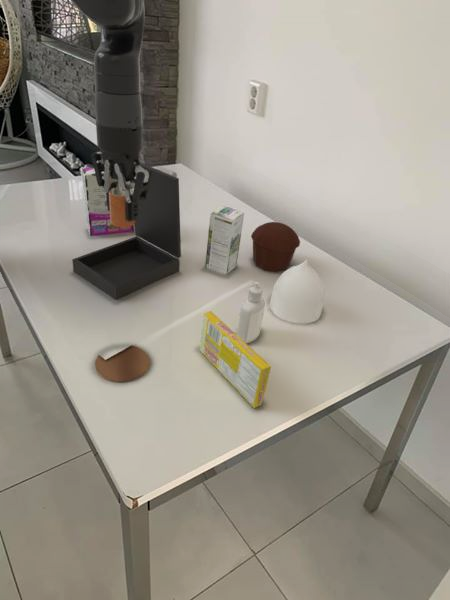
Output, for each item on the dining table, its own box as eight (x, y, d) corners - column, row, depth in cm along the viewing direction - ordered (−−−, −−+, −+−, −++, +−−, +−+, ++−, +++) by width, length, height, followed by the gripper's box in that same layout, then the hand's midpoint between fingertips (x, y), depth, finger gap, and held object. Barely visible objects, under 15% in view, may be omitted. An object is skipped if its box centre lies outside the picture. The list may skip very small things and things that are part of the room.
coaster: (118, 390, 71) (118, 389, 71) (84, 362, 76) (83, 360, 76) (160, 364, 77) (160, 362, 77) (126, 339, 82) (126, 337, 82)
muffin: (240, 265, 108) (245, 227, 103) (257, 247, 117) (263, 211, 111) (286, 280, 105) (294, 241, 99) (301, 260, 113) (309, 224, 108)
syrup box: (215, 260, 109) (220, 204, 101) (237, 267, 107) (244, 210, 99) (204, 270, 105) (209, 212, 97) (227, 278, 103) (233, 219, 95)
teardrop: (321, 328, 91) (335, 277, 84) (266, 318, 92) (276, 267, 85) (321, 298, 100) (334, 250, 93) (272, 289, 101) (281, 241, 94)
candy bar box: (129, 226, 120) (128, 165, 111) (134, 234, 116) (133, 171, 107) (86, 230, 116) (81, 167, 107) (90, 238, 112) (84, 174, 103)
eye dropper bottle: (266, 339, 86) (276, 286, 79) (240, 345, 83) (248, 291, 77) (255, 326, 89) (264, 274, 82) (230, 331, 87) (237, 278, 80)
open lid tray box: (116, 303, 91) (115, 287, 89) (73, 274, 98) (72, 259, 96) (179, 274, 102) (179, 259, 100) (136, 250, 110) (136, 236, 107)
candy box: (264, 404, 72) (272, 365, 67) (253, 409, 71) (261, 370, 66) (208, 346, 82) (211, 309, 78) (198, 350, 81) (201, 313, 77)
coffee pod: (121, 229, 82) (120, 198, 79) (105, 221, 85) (103, 190, 81) (140, 223, 85) (140, 192, 82) (124, 215, 88) (123, 184, 84)
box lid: (175, 179, 88) (193, 172, 91) (127, 159, 96) (145, 153, 99) (178, 258, 100) (193, 250, 103) (135, 235, 107) (150, 227, 110)
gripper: (73, 113, 76) (82, 208, 85) (130, 133, 69) (132, 234, 78) (109, 108, 81) (114, 199, 90) (165, 127, 74) (164, 223, 83)
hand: (122, 215), depth 84 cm, fingers closed on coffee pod, 4 cm apart
